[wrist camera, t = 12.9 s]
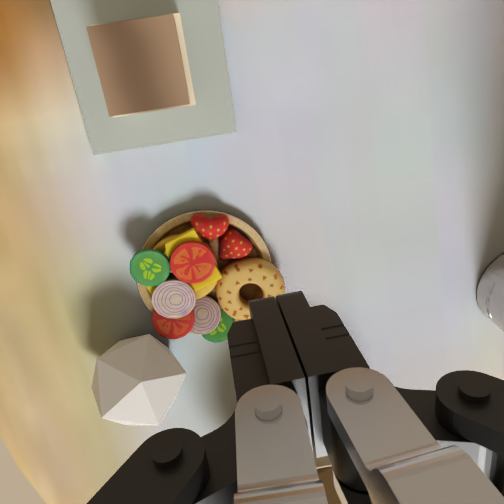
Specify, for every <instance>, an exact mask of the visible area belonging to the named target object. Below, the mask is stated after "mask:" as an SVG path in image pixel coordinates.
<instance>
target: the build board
mask: <svg viewBox="0 0 504 504" xmlns="http://www.w3.org/2000/svg"><path fill="white" fill-rule="evenodd" d="M50 1H51V5H52V8H53V12H54V15H55V19H56V22H57V26H58V30H59V33H60V37H61V40H62V44H63V48H64V51H65V55H66V58H67V62H68V66H69V69H70V73H71V76H72V80H73V83H74V87H75V91H76V94H77V98H78V101H79V105H80V109H81V112H82V116H83V119H84V123H85V127H86V130H87V134H88V137H89V141H90V144H91V148H92V152H93V155H97V154H103V153H109V152H115V151H122V150H128V149H134V148H140V147H147V146H153V145H159V144H165V143H172V142H178V141H184V140H190V139H197V138H203V137H209V136H215V135H222V134H228V133H234V132H237V130H236V123H235V116H234V109H233V102H232V95H231V88H230V82H229V75H228V68H227V61H226V54H225V47H224V40H223V33H222V26H221V20H220V13H219V6H218V0H50ZM173 13H180V17H181V23H182V28H183V34H184V40H185V45H186V51H187V57H188V62H189V68H190V74H191V79H192V85H193V90H194V96H195V102H196V105H191V106H185V107H179V108H172V109H166V110H159V111H153V112H146V113H140V114H133V115H127V116H120V117H114V118H113V116H111V117H109V114H108V110H107V106H106V102H105V98H104V94H103V90H102V87H101V83H100V79H99V75H98V71H97V67H96V63H95V59H94V56H93V52H92V48H91V44H90V40H89V36H88V32H87V28H86V27H87V26H90V25H95V24H102V23H109V22H116V21H123V20H130V19H138V18H145V17H152V16H159V15H166V14H173Z"/></svg>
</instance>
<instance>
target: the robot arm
mask: <svg viewBox="0 0 504 504" xmlns="http://www.w3.org/2000/svg"><path fill="white" fill-rule="evenodd" d="M477 302H478V305H479V308H480V309H481V311H482V313H483V314H485V315H486V316H487V317H488V318H489V319H490V320H492V321H493V322H494V323H495V324H496V325H497V326H499V327H500V328H501V329H502V330H503V331H504V254H503V255H501V256H500V257H499V258H497V259H496V260H495V261H494V262H493V263H492V264H491V265H490V266H489V267H488V268H487V269H486V271H485V272H484V274H483V276H482V277H481V280H480V282H479V285H478V289H477ZM248 303H249V310H250V317H251V319H246V320H241V321H236V322H233V323H232V325H231V327H230V329H229V331H228V333H227V337H228V344H229V350H230V357H231V363H232V370H233V377H234V383H235V390H236V396H237V404H236V407H235V411H234V413H233V415H232V416H231V417H230V419H229V420H228V421H227V422H226V423H225V424H224V425H222V426H221V427H219V428H218V429H216V430H214V431H213V432H211V433H209V434H207V435H204V436H202V437H200V436H199V435H198V434H196V433H195V432H193V431H191V430H188V429H184V428H173V429H167V430H164V431H161V432H159V433H156V434H155V435H153V436H151V437H150V438H148V439H147V440H146V441H145V442H144V443H143V444H142V445H141V446H140V447H139V448H138V449H137V450H136V451H135V452H134V453H133V454H132V455H131V456H130V458H129V459H128V460H127V461H126V462H125V463H124V464H123V465H122V466H121V467H120V468H119V469H118V470H117V472H116V473H115V474H114V475H113V476H112V477H111V478H110V479H109V480H108V481H107V482H106V483H105V485H104V486H103V487H102V488H101V489H100V490H99V491H98V492H97V493H96V494H95V495H94V496H93V497H92V499H91V500H90V501H89V502H88V503H87V504H328V502H327V497H326V493H325V489H324V486H323V483H322V480H319V477H318V473H317V469H316V464H315V460H314V455H313V449H314V452H315V455H316V458H319V457H324V456H328V457H329V460H330V462H331V465H332V469H333V481H334V486H335V489H336V492H337V494H338V496H339V498H340V501H341V503H342V504H504V380H501V379H498V378H495V377H493V376H490V375H487V374H484V373H481V372H476V371H455V372H451V373H448V374H446V375H444V376H443V377H441V378H440V379H439V381H438V382H437V385H436V391H432V390H410V389H402V388H398V387H395V386H393V384H392V383H391V382H390V380H389V379H388V378H387V377H386V376H384V375H383V374H381V373H379V372H377V371H375V370H372V369H370V367H369V366H368V364H367V362H366V361H365V359H364V357H363V356H362V354H361V352H360V351H359V349H358V347H357V346H356V344H355V342H354V341H353V339H352V337H351V336H350V335H349V332H348V331H347V329H346V327H345V326H344V324H343V322H342V321H341V319H340V317H339V316H338V314H337V313H336V312H334V311H333V310H331V309H330V308H328V307H327V306H325V305H319V306H314V307H310V306H309V304H308V302H307V300H306V298H305V296H304V294H303V293H302V291H298V292H292V293H287V294H282V295H276V297H274V296H271V297H266V298H261V299H255V300H250V301H248ZM312 446H313V447H312Z"/></svg>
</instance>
